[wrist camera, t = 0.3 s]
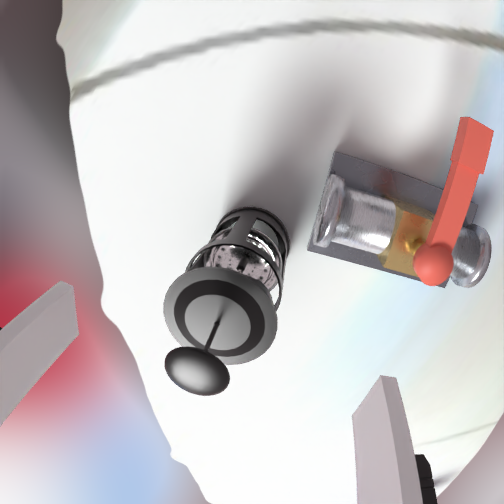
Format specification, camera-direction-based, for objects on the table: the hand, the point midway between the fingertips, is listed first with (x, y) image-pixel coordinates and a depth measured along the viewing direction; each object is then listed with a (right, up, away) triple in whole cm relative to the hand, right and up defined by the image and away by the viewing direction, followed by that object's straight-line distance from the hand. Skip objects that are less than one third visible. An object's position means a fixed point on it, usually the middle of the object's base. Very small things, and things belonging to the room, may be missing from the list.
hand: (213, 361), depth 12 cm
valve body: (+19, +8, +23) cm, 31 cm away
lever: (+19, +9, +11) cm, 23 cm away
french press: (+1, +5, +27) cm, 28 cm away
